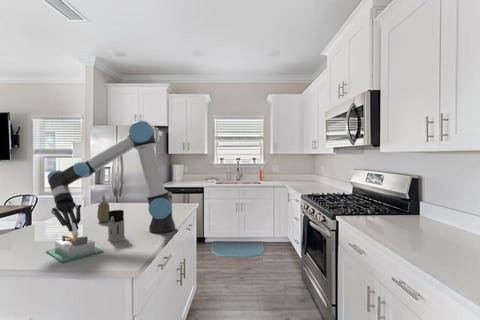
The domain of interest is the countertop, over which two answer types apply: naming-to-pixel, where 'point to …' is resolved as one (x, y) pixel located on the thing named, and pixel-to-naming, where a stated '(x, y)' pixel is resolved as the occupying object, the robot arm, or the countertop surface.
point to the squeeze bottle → (103, 210)
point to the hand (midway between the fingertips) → (76, 236)
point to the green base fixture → (73, 249)
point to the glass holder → (116, 225)
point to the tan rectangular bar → (71, 237)
